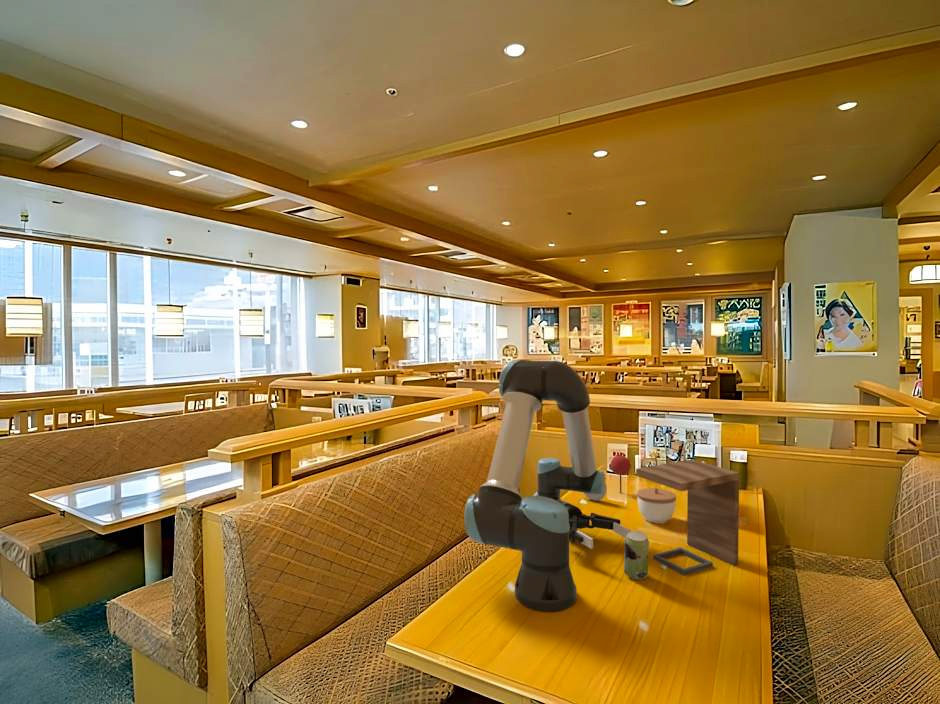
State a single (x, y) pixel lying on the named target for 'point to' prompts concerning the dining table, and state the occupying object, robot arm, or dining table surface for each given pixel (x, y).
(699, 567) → the grey square frame
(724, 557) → the walnut shelf
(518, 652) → the dining table surface
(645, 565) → the beverage can
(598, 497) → the donut
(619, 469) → the lollipop
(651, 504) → the lidded bowl
